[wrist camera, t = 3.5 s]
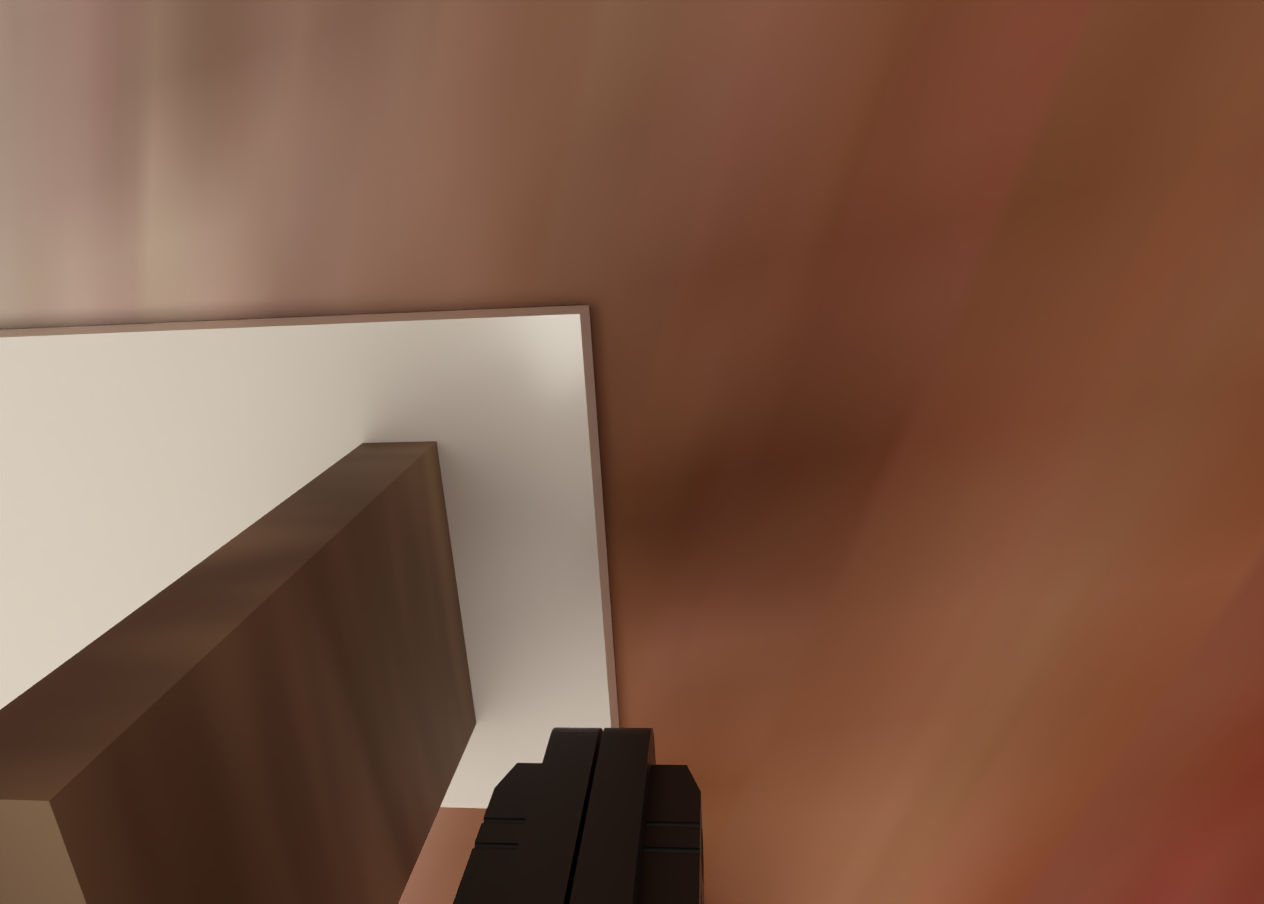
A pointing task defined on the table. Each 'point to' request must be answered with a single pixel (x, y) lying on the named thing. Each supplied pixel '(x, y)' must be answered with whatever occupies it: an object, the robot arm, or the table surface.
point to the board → (292, 457)
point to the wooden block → (256, 713)
